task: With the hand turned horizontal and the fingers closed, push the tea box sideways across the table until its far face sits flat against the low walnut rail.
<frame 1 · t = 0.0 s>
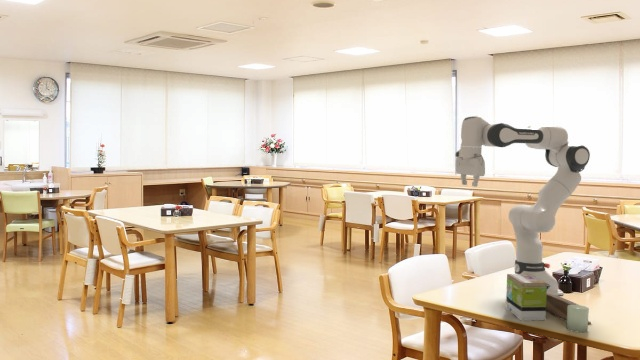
hand: (469, 185, 252), 48 cm above the table, tool pointing down, fingers open, 8 cm apart
tea box: (524, 315, 227), on the table
mint green canister: (576, 329, 211), on the table
walnut rail: (557, 315, 227), on the table
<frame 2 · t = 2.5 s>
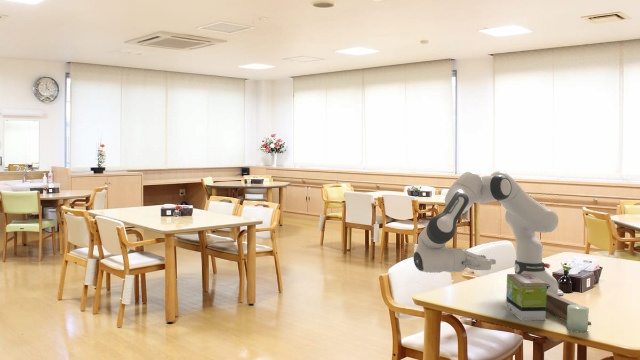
hand: (489, 259, 222), 22 cm above the table, tool horizontal, fingers open, 6 cm apart
nothing on the table moved.
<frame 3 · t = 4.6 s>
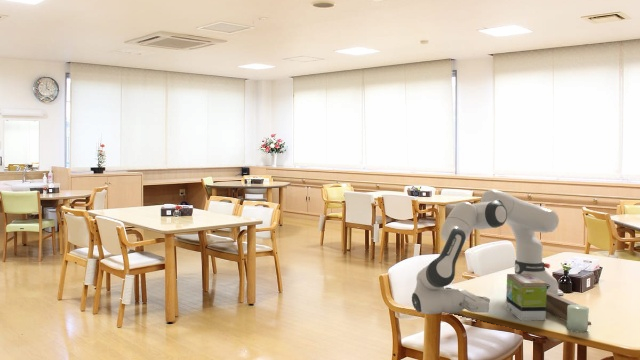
hand: (487, 299, 223), 6 cm above the table, tool horizontal, fingers closed
nothing on the table moved.
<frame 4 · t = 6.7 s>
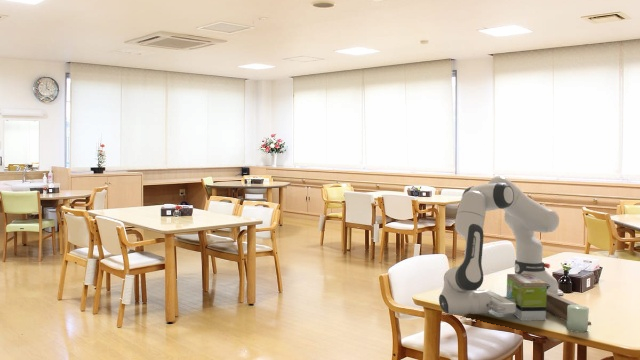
hand: (513, 300, 226), 6 cm above the table, tool horizontal, fingers closed
tea box: (524, 315, 227), on the table, touching gripper
everything else where it was.
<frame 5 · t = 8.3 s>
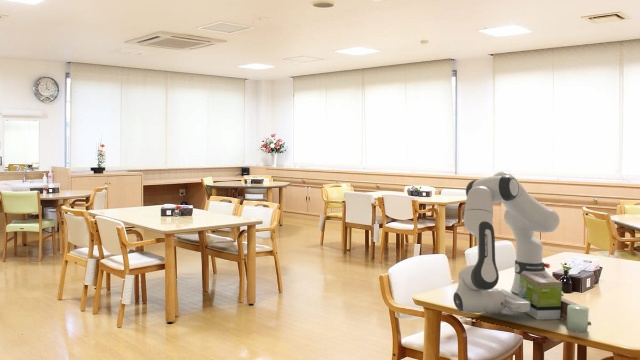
hand: (527, 299, 227), 6 cm above the table, tool horizontal, fingers closed
tea box: (538, 314, 228), on the table, touching gripper, walnut rail
everything else where it was.
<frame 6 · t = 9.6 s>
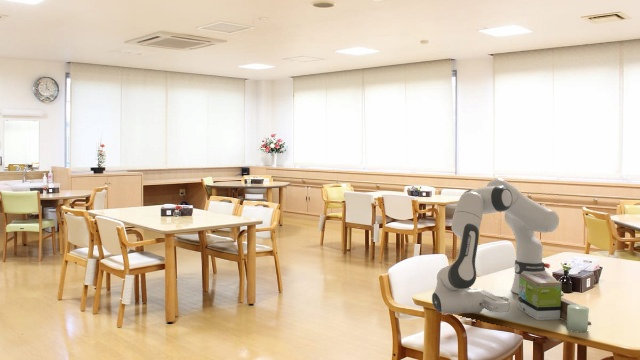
hand: (506, 299, 225), 6 cm above the table, tool horizontal, fingers closed
tea box: (538, 315, 228), on the table
everything else where it was.
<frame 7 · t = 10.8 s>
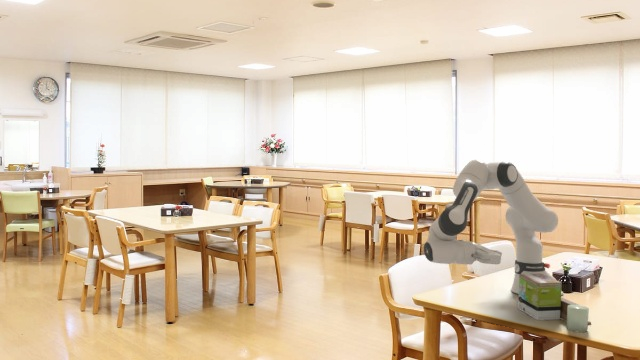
hand: (499, 253, 223), 24 cm above the table, tool horizontal, fingers closed
nothing on the table moved.
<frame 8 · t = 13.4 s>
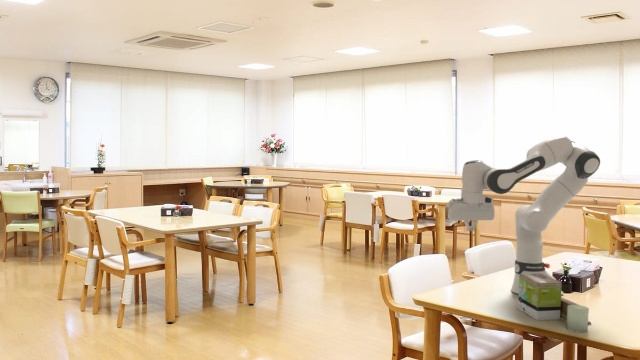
hand: (470, 230, 248), 29 cm above the table, tool pointing down, fingers closed
nothing on the table moved.
at the end: tea box inside the target area on the table beside the walnut rail (0.4 cm from its centre), on the table; tea box tilted 0° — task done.
